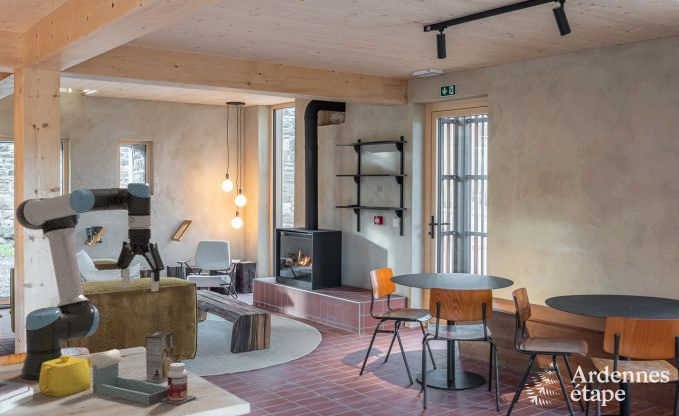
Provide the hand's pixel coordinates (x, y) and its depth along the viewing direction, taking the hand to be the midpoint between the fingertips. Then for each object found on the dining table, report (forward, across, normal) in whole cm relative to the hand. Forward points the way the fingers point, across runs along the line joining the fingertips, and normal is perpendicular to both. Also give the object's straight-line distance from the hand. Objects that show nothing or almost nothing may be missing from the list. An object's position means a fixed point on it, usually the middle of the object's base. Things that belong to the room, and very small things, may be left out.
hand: (140, 289), depth 253 cm
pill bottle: (+32, +24, -8) cm, 41 cm away
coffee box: (+33, +2, +7) cm, 34 cm away
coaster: (+33, +24, -8) cm, 41 cm away
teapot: (+33, -16, -18) cm, 41 cm away
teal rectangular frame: (+33, +7, -11) cm, 35 cm away
